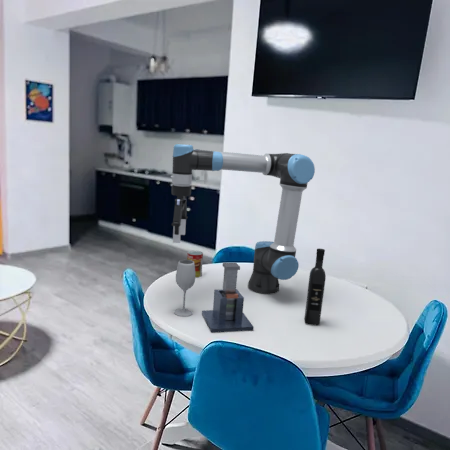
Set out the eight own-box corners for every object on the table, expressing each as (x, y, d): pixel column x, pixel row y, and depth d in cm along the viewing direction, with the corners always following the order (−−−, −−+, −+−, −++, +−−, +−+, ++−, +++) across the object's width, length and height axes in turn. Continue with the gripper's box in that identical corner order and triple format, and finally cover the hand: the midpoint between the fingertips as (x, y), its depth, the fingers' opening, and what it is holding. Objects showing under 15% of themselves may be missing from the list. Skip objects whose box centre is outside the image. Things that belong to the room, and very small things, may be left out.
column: (231, 314, 157) (235, 262, 153) (235, 320, 152) (240, 266, 148) (218, 315, 155) (222, 262, 151) (222, 321, 150) (226, 266, 146)
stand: (240, 312, 164) (242, 282, 161) (253, 330, 149) (256, 298, 146) (201, 314, 159) (203, 283, 157) (211, 332, 144) (213, 299, 142)
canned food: (185, 272, 208) (186, 250, 206) (200, 272, 210) (201, 250, 208) (187, 277, 200) (188, 254, 198) (202, 277, 202) (204, 254, 200)
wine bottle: (319, 326, 156) (329, 252, 151) (304, 324, 157) (314, 250, 151) (318, 320, 162) (327, 248, 156) (303, 318, 163) (312, 246, 157)
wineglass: (196, 311, 162) (199, 260, 158) (188, 318, 155) (191, 266, 151) (178, 307, 164) (181, 257, 160) (170, 314, 157) (173, 262, 153)
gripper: (177, 181, 168) (175, 231, 172) (165, 187, 143) (163, 245, 147) (195, 182, 167) (192, 232, 172) (186, 189, 143) (184, 247, 147)
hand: (179, 238), depth 160 cm, fingers open, 13 cm apart
